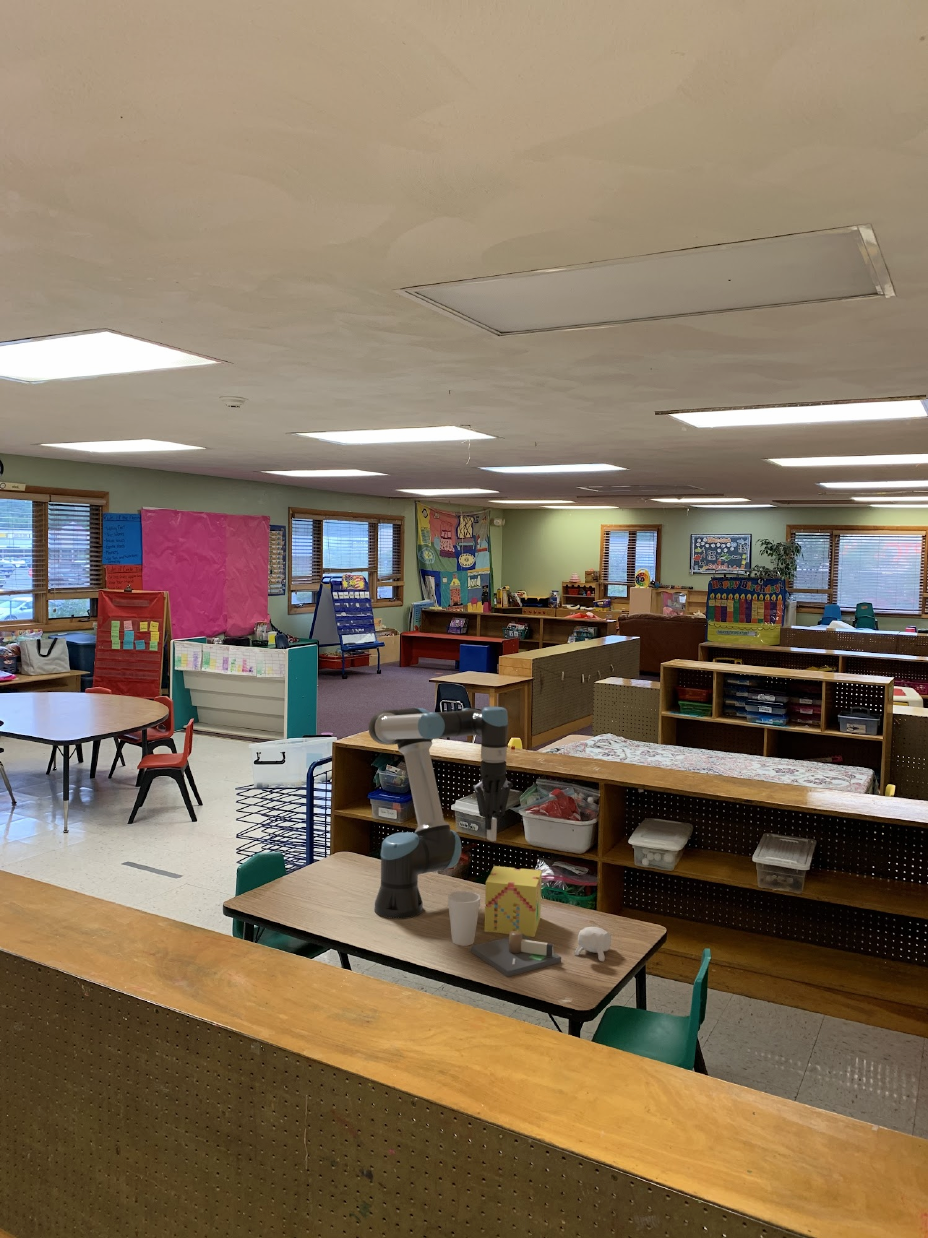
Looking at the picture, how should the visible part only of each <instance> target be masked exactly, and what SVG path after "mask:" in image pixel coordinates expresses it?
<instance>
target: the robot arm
mask: <svg viewBox="0 0 928 1238" xmlns="http://www.w3.org/2000/svg"><path fill="white" fill-rule="evenodd" d="M508 719H509V718H508V710H507V709H506V708H505V707H504V706H503V707H501V706H485V707H483V708H482V710H479V709H476V708H469V707H466V708H465V707H464V708H462V709H460V710H456V711H439V712H434V711H433V712H430V711H428V710H427V709H426V708H422V707H411V708H409V707H408V708H397V709H386V710H385V709H384V710H381V711H379V712H376V713H375V714H374V715H373V716H372V717H371V719H370V720H369V723H368V728H367V729H368V734H369V736H370V737H371V739H372V740H373V741H374V742H375V743H378V744H380V745H384V746H391V745H392V746H393V745H397V751H398V752H399V753H400V754H402V755H403V757H404V762H405V765H406V766H405V767H406V770H407V771H406V772H407V776H408V781H409V787H410V790H411V797H412V801H413V802H412V803H413V807H414V813H415V818H416V821H417V828H416V829H415V831H414V832H410V831H406V832H403V831H401V832H395V833H392V834H391V835H389V836H385V838H384V839H383V841H382V842H381V850H380V859H381V860H380V861H381V862H380V865H381V866H380V887H379V889H378V892H377V894H376V897H375V898H376V899H375V901H374V912H375V913H376V915H379V916H381V917H384V918H390V919H409V918H413V917H416V916H419V915H420V914H421V913H422V912H423V905H424V904H423V899H422V896H421V893H420V890H419V886H418V882H419V881H418V879H419V875H422V874H427V873H433V872H438V871H444V870H448V869H451V868H453V867H455V866H456V865H457V864H458V862H459V861H460V858H461V854H462V841H461V838H460V836H459V835H458V832H457V831H455V830H451V826H450V823H448V822H447V821H445V820H444V813H443V810H442V805H441V799H440V795H439V790H438V786H437V782H436V781H437V780H436V776H435V771H434V767H433V762H432V757H431V753H430V749H431V747H432V746H433V740H437V739H447V738H454V737H463V736H464V737H467V736H476V737H480V738H481V747H480V758H481V761H480V775H481V776H480V779H479V782H478V783H477V784H474V785H472V789H473V791H474V793H475V797H476V803H477V808H478V812H479V816H480V817H482V818H484V819H485V820H484V821H485V823H484V828H485V829H486V840H488V841H490V842H496V841H497V829H499V822H500V821H499V820H500V819H501V818H502V816H504V815H505V814H506V810H507V806H508V805H507V804H508V801H509V796H510V792H511V789H512V787H513V786H514V783H513V782H511V781H508V780H507V777H506V773H507V762H506V760H507V758H508V757H507V752H508V751H507V750H508V749H507V747H508V746H507V745H508V729H509V728H508V726H509V725H508V724H509V720H508Z"/></svg>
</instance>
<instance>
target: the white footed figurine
mask: <svg viewBox="0 0 928 1238" xmlns="http://www.w3.org/2000/svg"><path fill="white" fill-rule="evenodd" d="M611 943H612V934H611V932H609V931H606V930H605V929H603V928H601V927H598V926H587V927H586V926H584V928H583V929H580V931H579V933H578V935H577V944H578V946H577V947H576V949H575V951H574V952H573V954H574V956H580V955H581V954H582V952H583V951H584V950H586V951H587V952H589V953H592V954H593V953H596V954H597V956H598V958H597V959H598V961H600V962H604V961H605V954H604V952H608V951H609V950H610V948H611V945H612V944H611Z"/></svg>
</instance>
